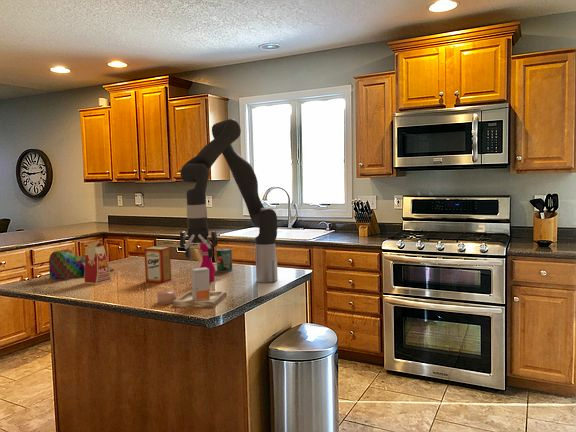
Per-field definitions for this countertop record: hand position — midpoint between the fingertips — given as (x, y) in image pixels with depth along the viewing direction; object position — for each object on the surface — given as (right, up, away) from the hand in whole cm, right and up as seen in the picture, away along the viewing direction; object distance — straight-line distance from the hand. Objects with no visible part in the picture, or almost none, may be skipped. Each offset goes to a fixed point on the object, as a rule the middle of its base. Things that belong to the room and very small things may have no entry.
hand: (199, 258), depth 187 cm
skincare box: (0, -16, +2) cm, 16 cm away
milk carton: (-56, -15, +42) cm, 71 cm away
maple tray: (0, -17, +2) cm, 17 cm away
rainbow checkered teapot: (-70, -14, +61) cm, 94 cm away
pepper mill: (-3, -14, +40) cm, 42 cm away
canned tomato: (+2, -12, +62) cm, 63 cm away
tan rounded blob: (-13, -17, +2) cm, 22 cm away
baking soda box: (-26, -14, +41) cm, 51 cm away
